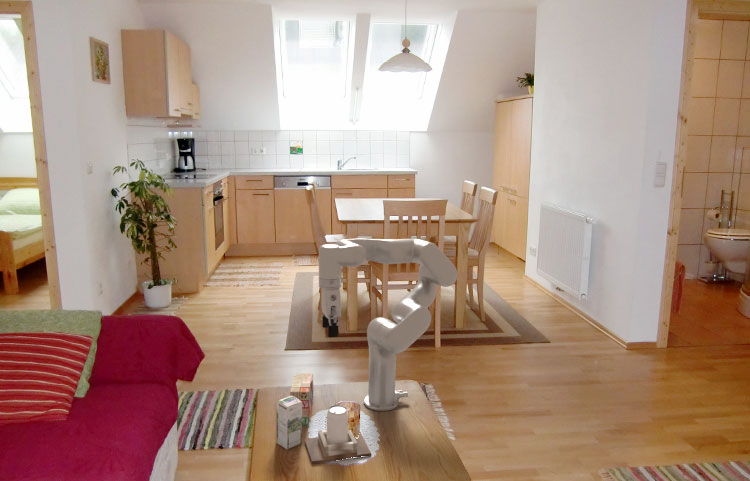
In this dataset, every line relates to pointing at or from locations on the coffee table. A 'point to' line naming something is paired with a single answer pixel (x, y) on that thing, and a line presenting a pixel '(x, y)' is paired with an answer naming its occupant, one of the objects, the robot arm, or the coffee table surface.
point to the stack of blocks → (303, 393)
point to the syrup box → (289, 422)
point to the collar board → (335, 448)
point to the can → (337, 424)
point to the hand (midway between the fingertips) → (330, 331)
